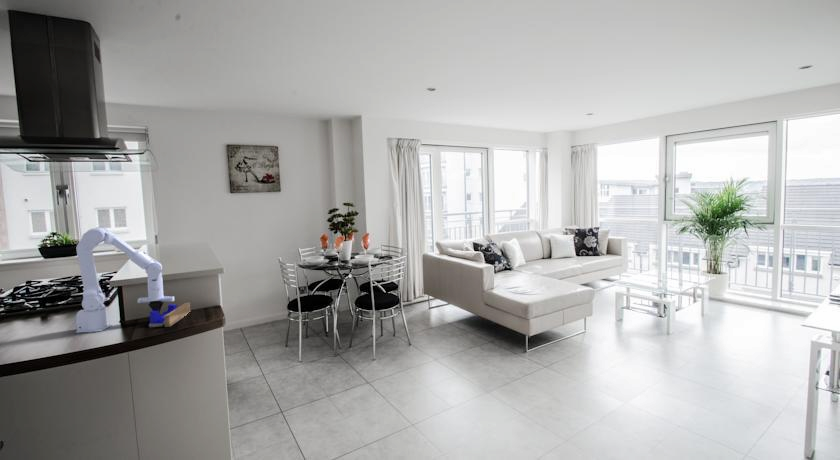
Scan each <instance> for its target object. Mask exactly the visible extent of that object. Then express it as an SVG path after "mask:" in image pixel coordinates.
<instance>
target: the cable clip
mask: <svg viewBox="0 0 840 460" xmlns="http://www.w3.org/2000/svg"><path fill="white" fill-rule="evenodd" d="M176 308H178V306H177V304H172V303H171V304H168V307H167V310H165V311H163V312H162V313H161V314H160V315H159V312H158V311H153V310H151V311H149V324H151V323H163V321H165V319H164V316H165V315H166V314H168V313H170V312H171V311H173V310H175V309H176Z"/></svg>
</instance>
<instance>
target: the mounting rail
mask: <svg viewBox="0 0 840 460" xmlns="http://www.w3.org/2000/svg"><path fill="white" fill-rule="evenodd" d="M155 327H156V328H157V327H165V321H163V323H151V324H150V323H149V324H148V328H155Z"/></svg>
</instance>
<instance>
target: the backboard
mask: <svg viewBox="0 0 840 460" xmlns="http://www.w3.org/2000/svg"><path fill="white" fill-rule="evenodd" d="M189 312H192V311H191V302H184V303H183V304H181V305H179V306H177V308H176V309H175V310H173V311H171V312H170V313H168V314H166V315H165V316H164V319H165V326H164V327H165V328H168V327H169V328H171V327H172V326H173V325H175V324H176V323H178V322H179V321H180V320H182V319H183V318H184V316H185V317H186V316H187V314H188V313H189ZM189 314H190V313H189ZM189 314H188V315H189Z"/></svg>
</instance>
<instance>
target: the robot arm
mask: <svg viewBox="0 0 840 460" xmlns="http://www.w3.org/2000/svg"><path fill="white" fill-rule="evenodd" d="M101 243H102V244H104V245H112V246H114V247H115V248H117V249H119V250H120V251H121V252H123V253H125V254H126V255H128V256H129V260H130V261H131V262H132V263H133V264H135V265H137V266H138V267H139V268H140V269H142V270H144V272H145V273H146V275H147V297H139V298H138V299H137V304H142V303H149V304H148V306H149V308H150V309H151V311H158V312H159V315H160V316H161V314H160V313H161V309H162V307H163V305H164V303H165V302H170V303H171V302H174V301H175V296H174V295H173V296H169V295H168V296H167V295H164V283H163V282H164V281H163V273H162V270H163V265H162V264H161V262H160V261H158V260H156V259H155V258H152V257H151V256H149V255H148V254H147V251H144V250H136V249H135V248H134V247H132V246H131V245H129V243H127V242H126V241H125V240H123V239H122V238H121V237H120V236H118V235H117V234H115V233H114V232H112V231H109V230H108V229H107V228H106V227H103V226H99V227H98V226H97V227H94V228H90V229H89V230H87V231H86V232H84V233H83V234H82V235H81V238H80V240H79V242H78V243H77V244H76V248H75V249H76V254H77V260H78V264H79V266H78V267H79V271H80V276H81V281H82V286H83V292H82V297H83V298H82V301H81V306H82V308H83V309H80V310H79V311H77V313H76V315H75V321H76V322H75V323H76V331H75V333H76V334H77V333H80V334H81V333H93V332H94V333H95V332H102V331H104V330H106V329H108V328H109V327H112V326H113V324H112V323H111V324H110V323H109V324H108V322H107V312H106V311H107V308H106V305H105V304H104V303H105V302H106V298H107V297H106V295H105V293H103V291H102V288H101V285H100V283H99V279H98V273H97V269H96V263H95V258H94V256H95V255H94V251H93V250H94V249H95V248H96V247H97V246H99V244H101Z"/></svg>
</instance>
